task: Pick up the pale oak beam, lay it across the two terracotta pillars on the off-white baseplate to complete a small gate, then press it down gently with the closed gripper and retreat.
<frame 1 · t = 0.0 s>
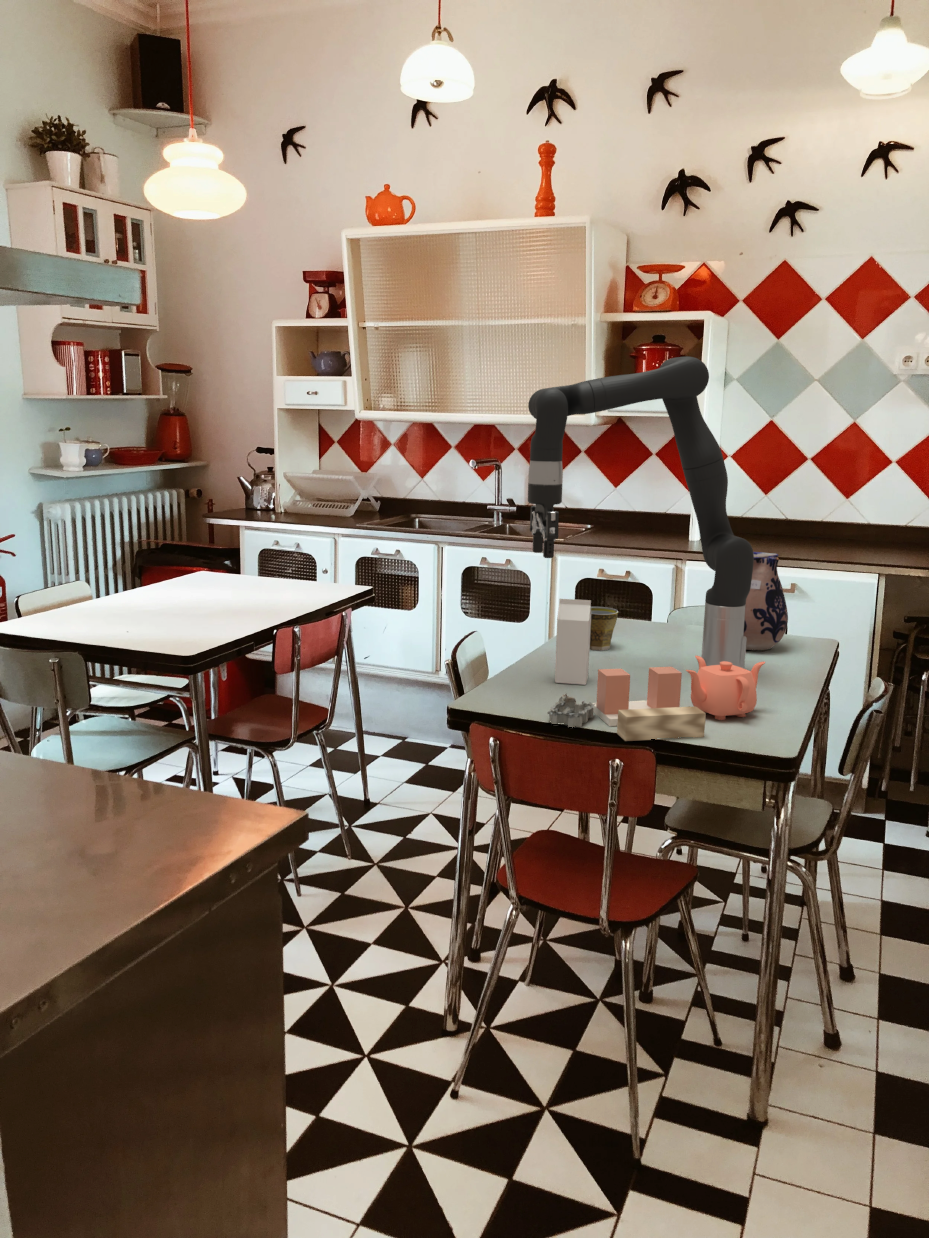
hand: (542, 555, 219), 29 cm above the table, tool pointing down, fingers open, 8 cm apart
ceramic pitcher: (745, 646, 263), on the table
milk carton: (571, 681, 227), on the table
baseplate: (637, 716, 201), on the table
egg carton: (571, 721, 198), on the table
ceramic cup: (593, 647, 260), on the table
oak beam: (660, 736, 190), on the table
teapot: (718, 712, 205), on the table
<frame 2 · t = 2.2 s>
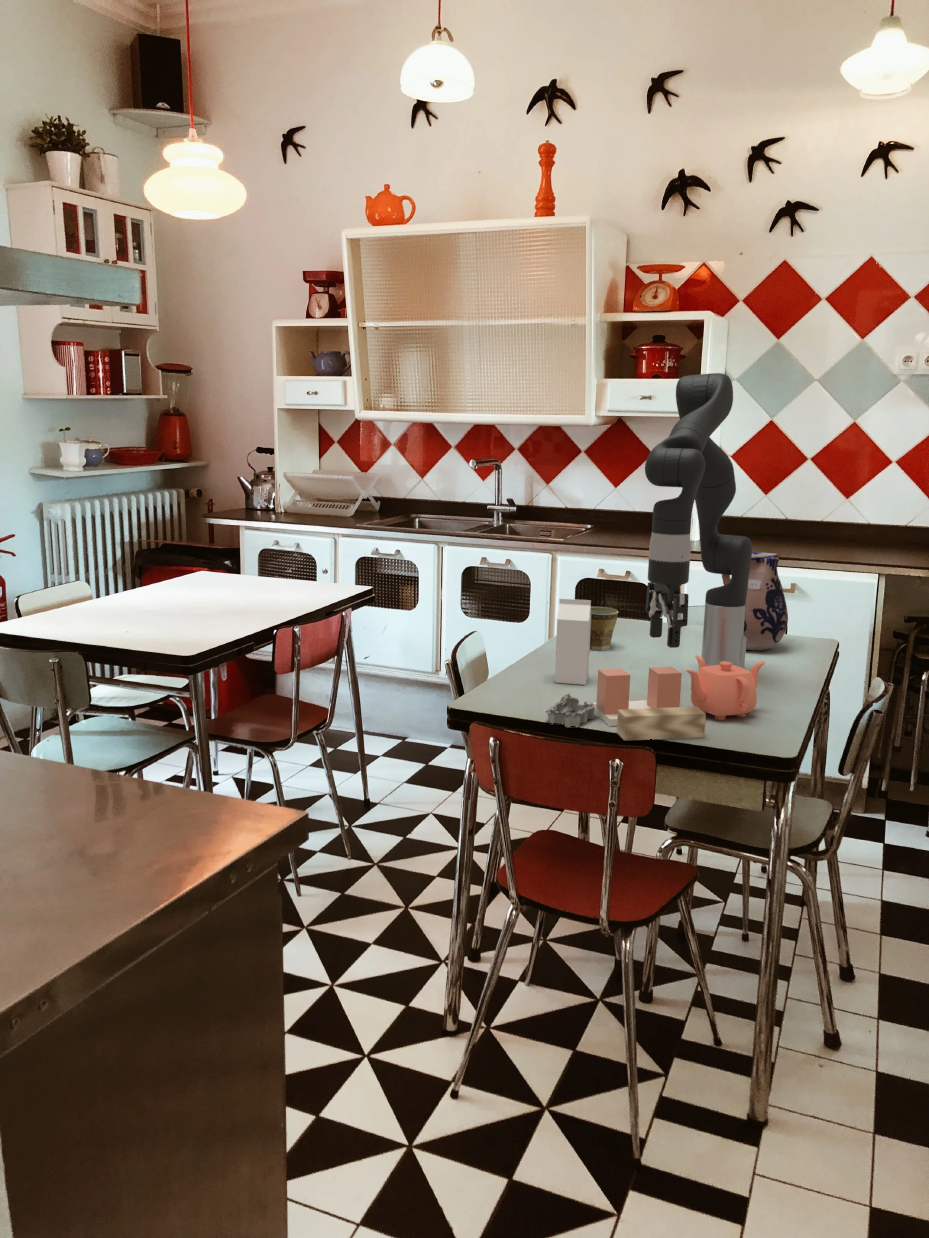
hand: (664, 641, 186), 18 cm above the table, tool pointing down, fingers open, 8 cm apart
nothing on the table moved.
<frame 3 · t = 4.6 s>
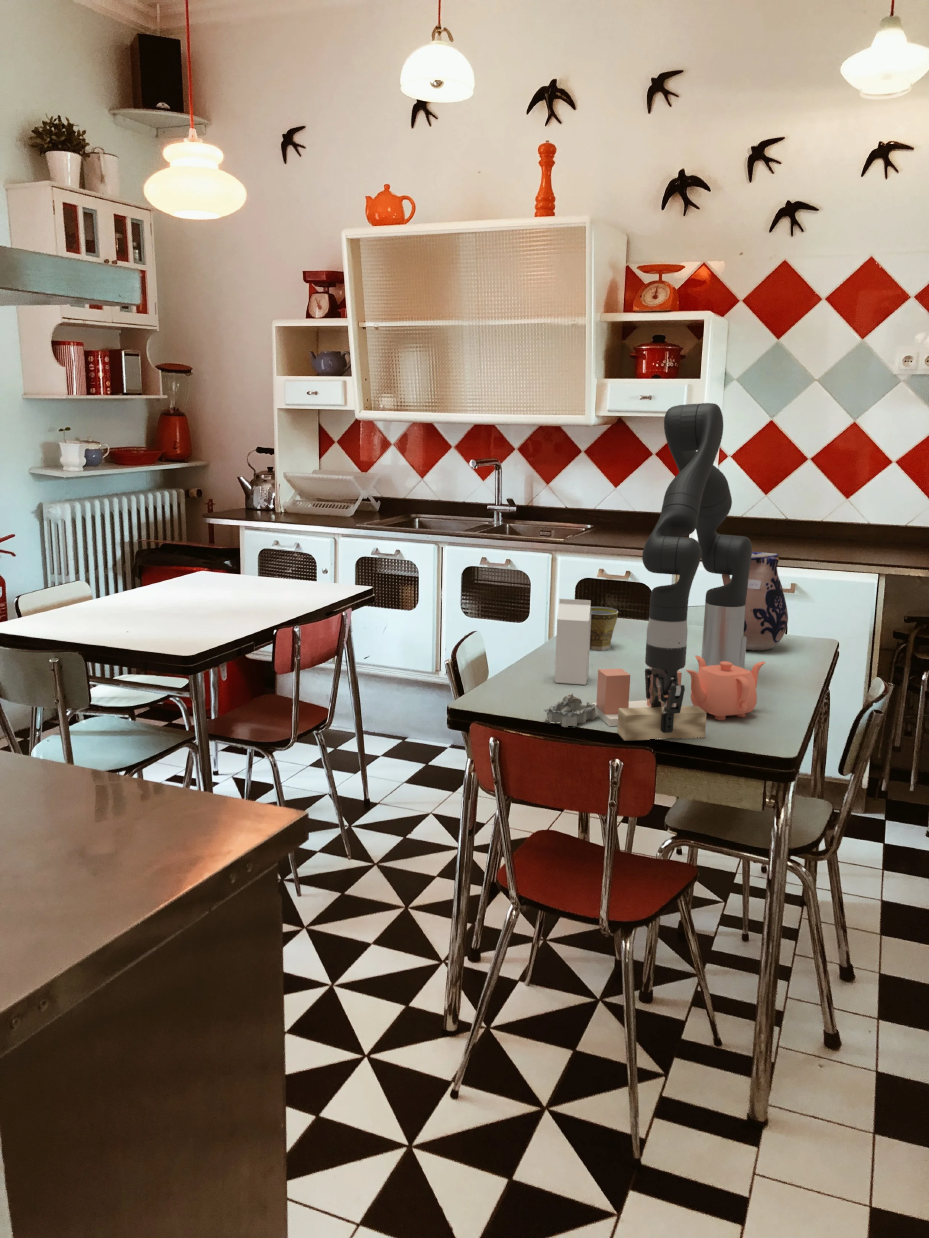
hand: (661, 727, 189), 2 cm above the table, tool pointing down, fingers closed on oak beam, 4 cm apart
oak beam: (660, 735, 189), on the table, touching gripper
everything else where it was.
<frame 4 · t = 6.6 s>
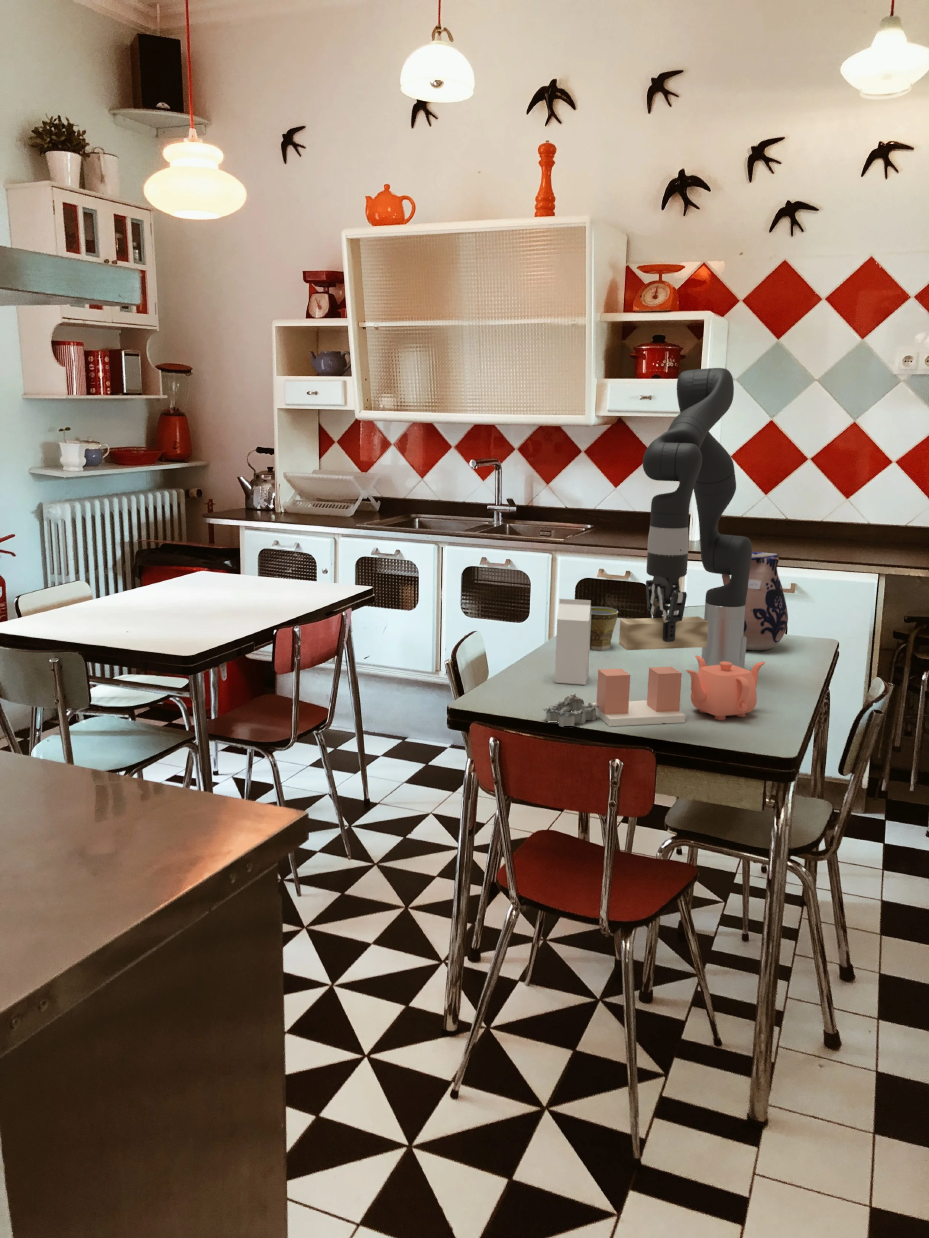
hand: (663, 637, 189), 19 cm above the table, tool pointing down, fingers closed on oak beam, 4 cm apart
oak beam: (662, 645, 189), point 17 cm above the table, touching gripper
when the fingers open (12 cm above the table, at t = 8.9 s): oak beam stays where it is, resting on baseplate.
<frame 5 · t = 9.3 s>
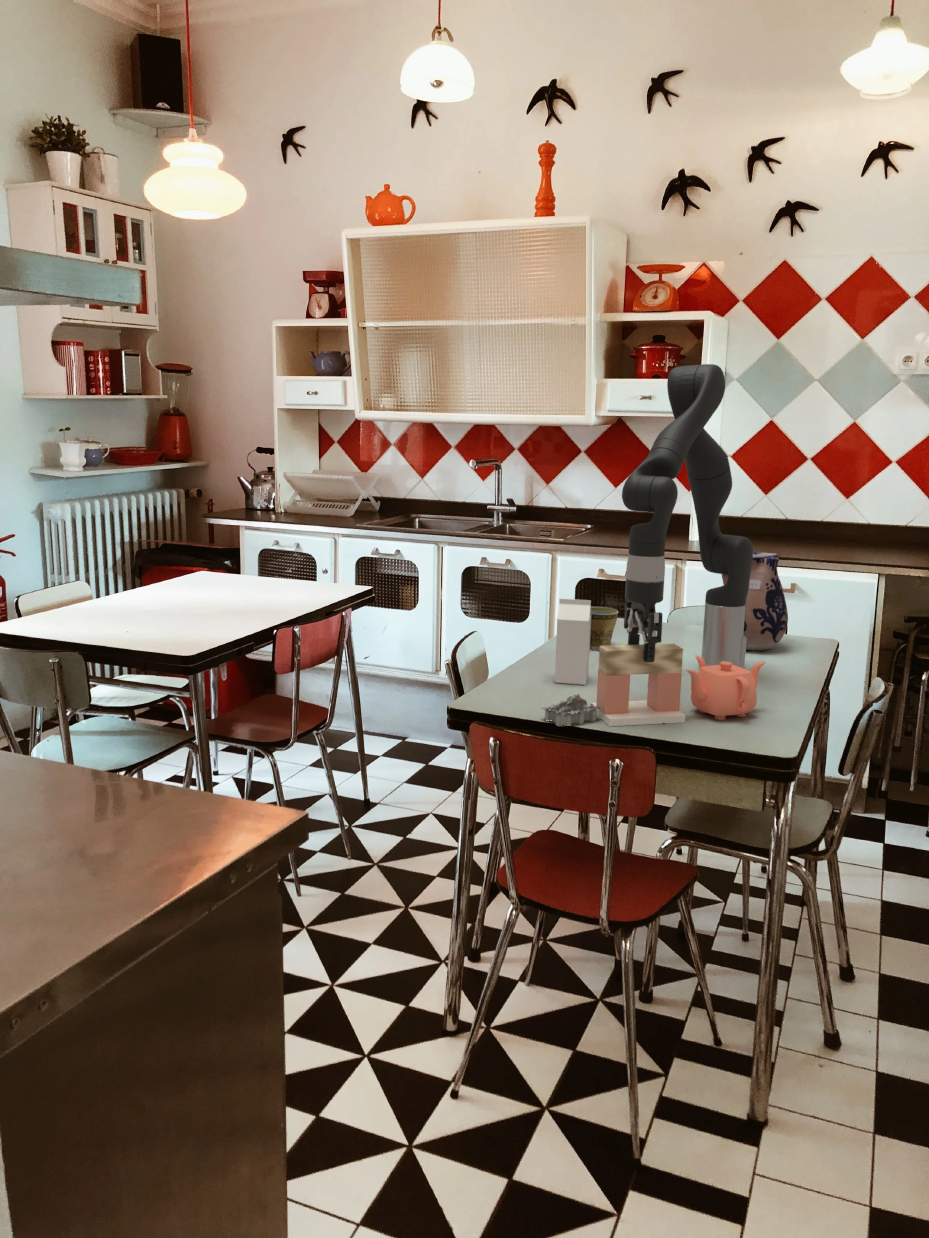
hand: (640, 656, 198), 13 cm above the table, tool pointing down, fingers open, 8 cm apart
oak beam: (639, 671, 199), point 9 cm above the table, touching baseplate
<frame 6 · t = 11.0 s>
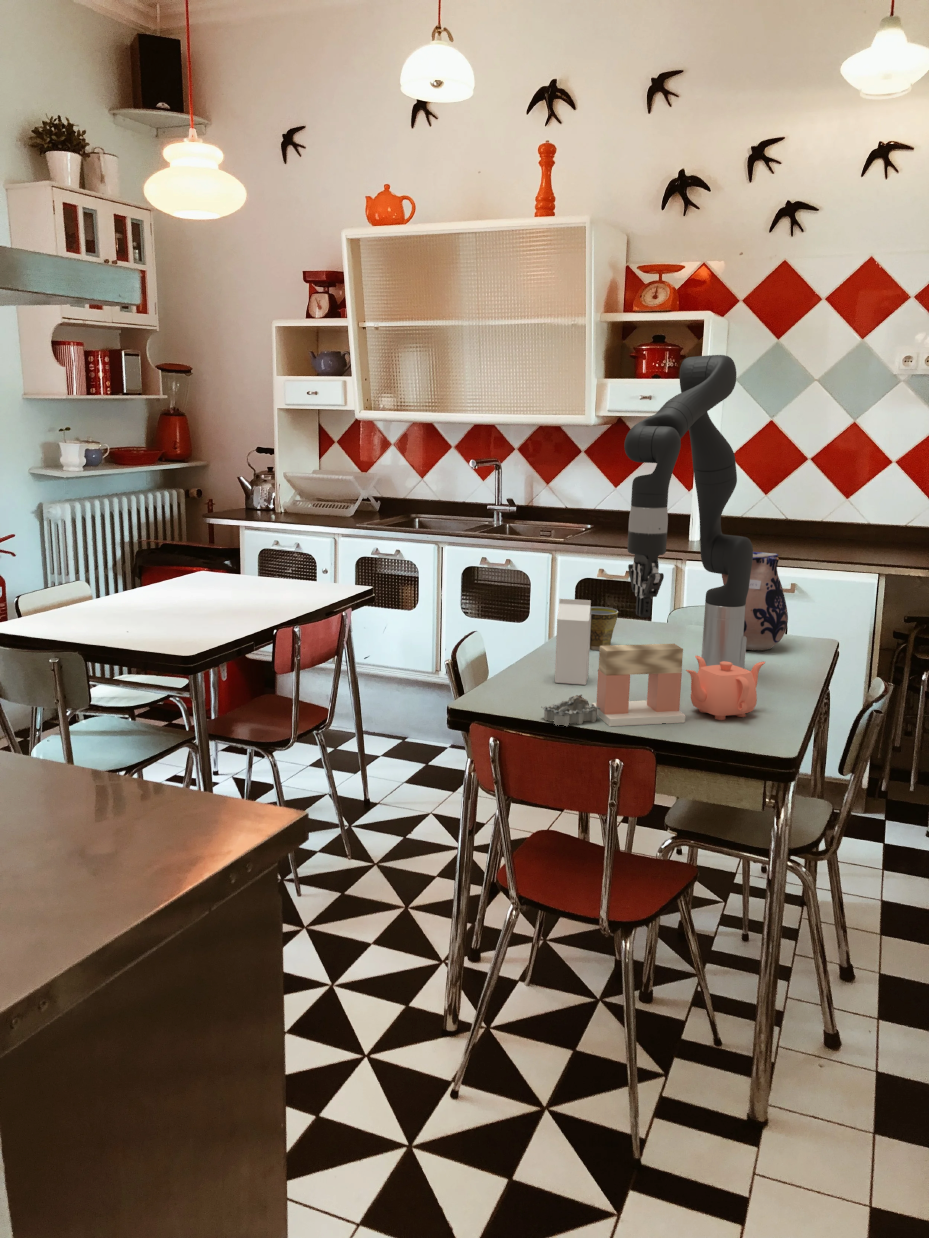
hand: (642, 615, 197), 21 cm above the table, tool pointing down, fingers closed
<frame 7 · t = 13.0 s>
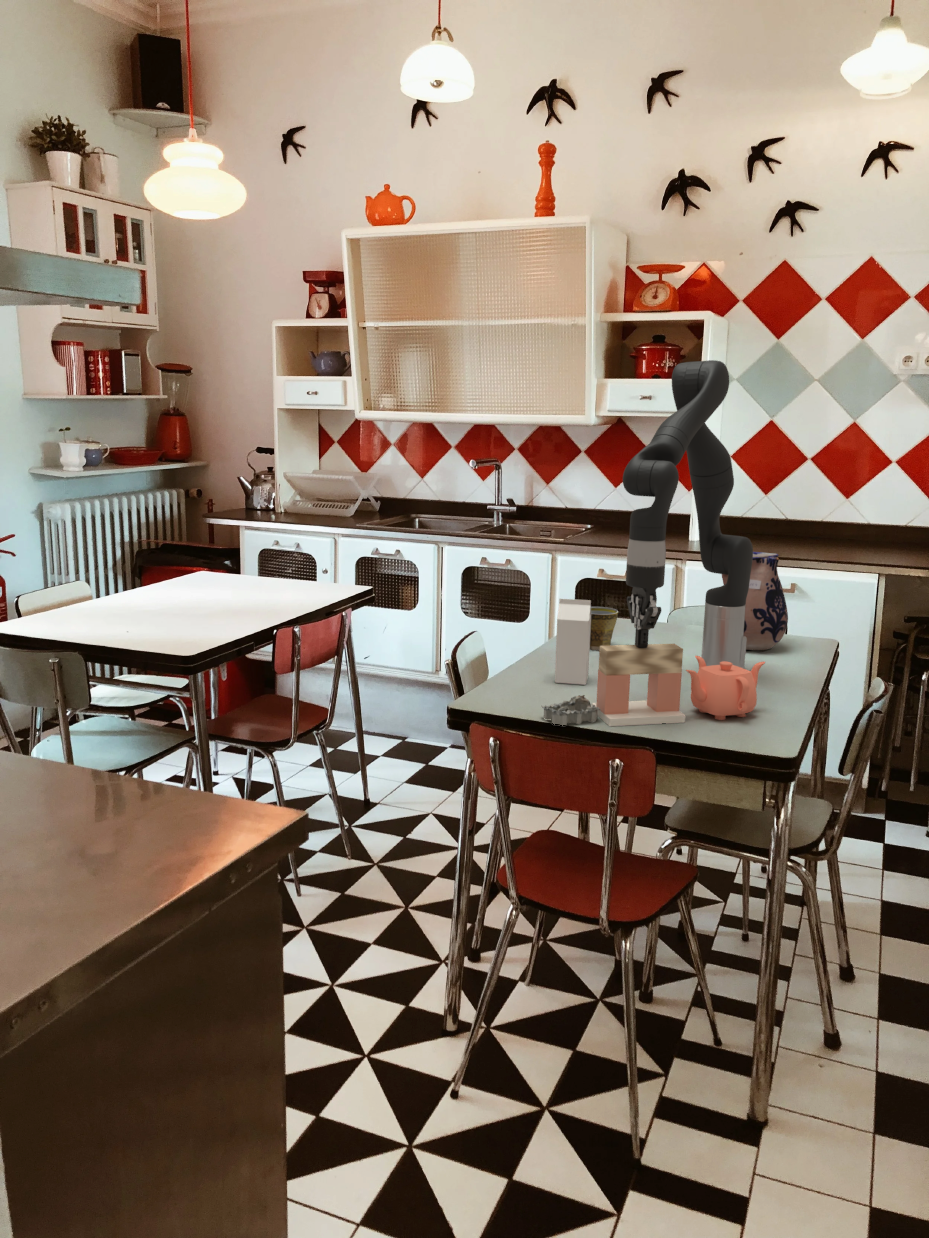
hand: (641, 647, 198), 15 cm above the table, tool pointing down, fingers closed
oak beam: (639, 671, 199), point 9 cm above the table, touching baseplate, gripper
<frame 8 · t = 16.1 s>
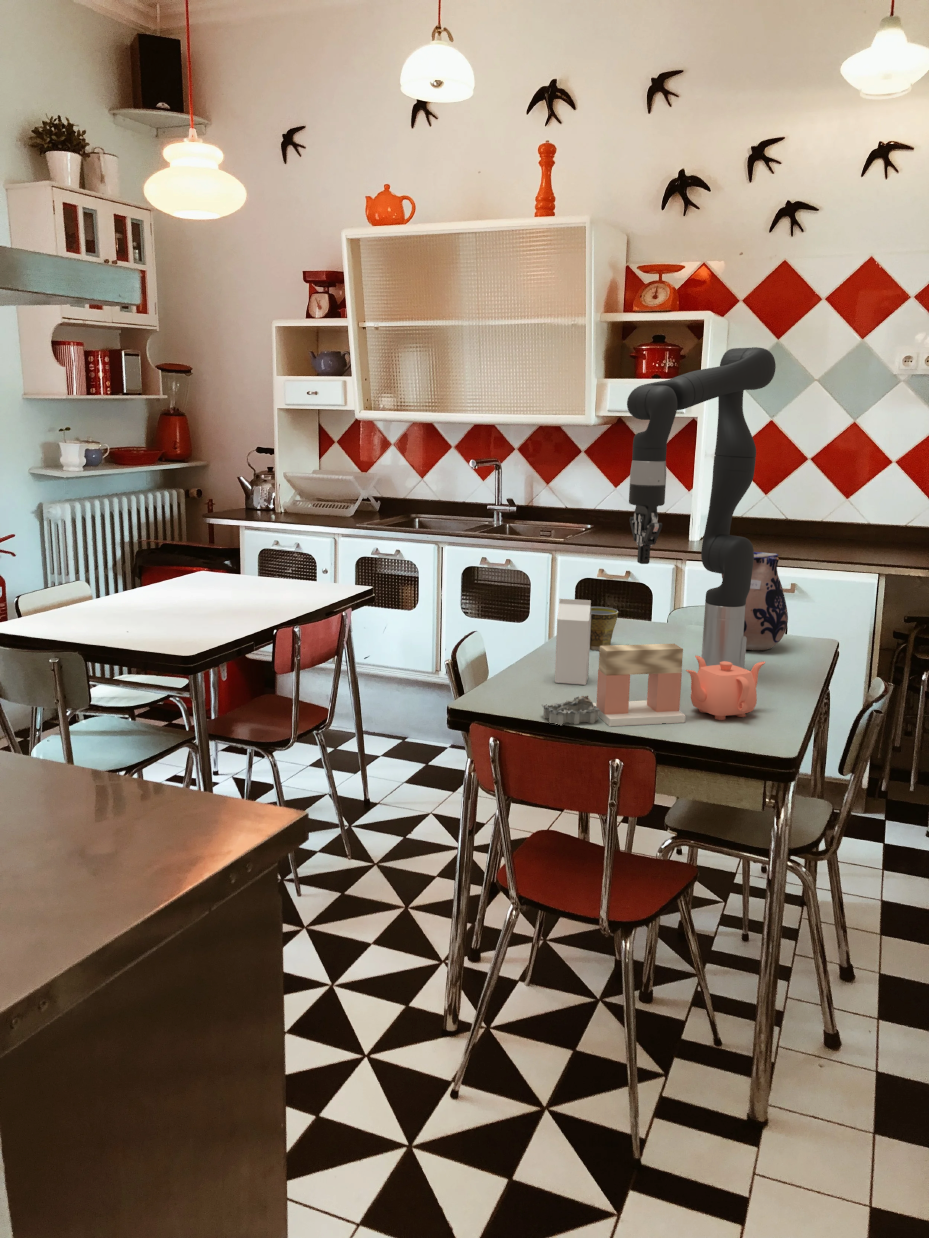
hand: (643, 563, 211), 29 cm above the table, tool pointing down, fingers closed
oak beam: (639, 671, 199), point 9 cm above the table, touching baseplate
at the end: oak beam 0.0 cm off-centre on the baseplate, point 9.5 cm above the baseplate's base; oak beam tilted 0°; the gripper is holding nothing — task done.
